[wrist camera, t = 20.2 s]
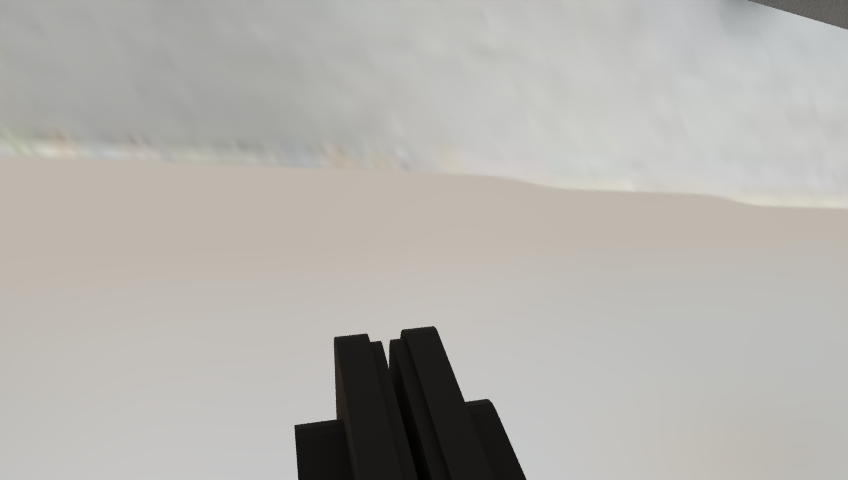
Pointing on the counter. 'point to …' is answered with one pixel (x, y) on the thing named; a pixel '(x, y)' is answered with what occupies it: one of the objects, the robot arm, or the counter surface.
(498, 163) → the counter surface
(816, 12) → the block
